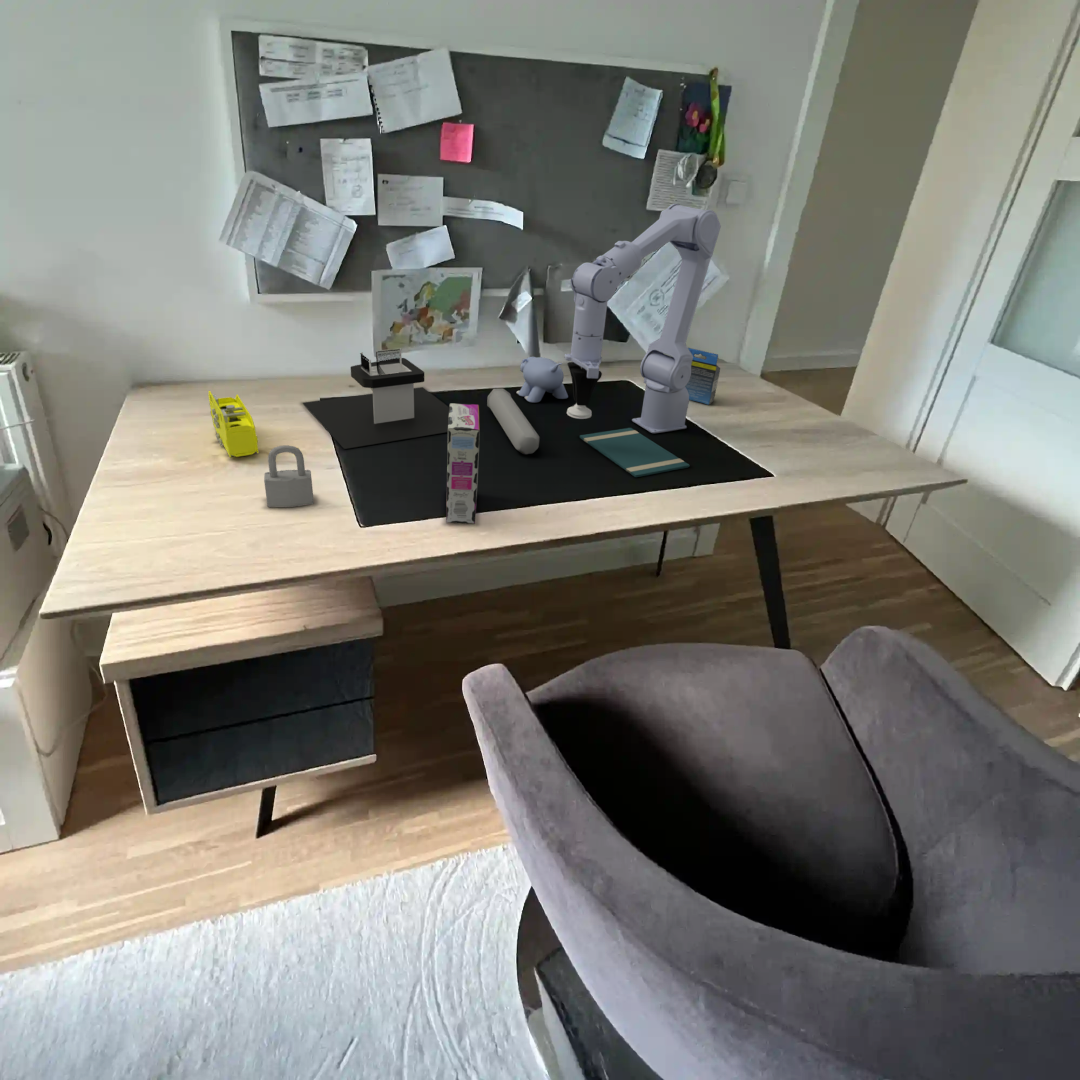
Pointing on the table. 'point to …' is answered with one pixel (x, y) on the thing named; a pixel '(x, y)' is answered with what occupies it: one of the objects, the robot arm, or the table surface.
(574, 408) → the chess piece
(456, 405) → the candy bar box
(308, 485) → the padlock
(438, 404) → the black-topped pedestal
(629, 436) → the towel
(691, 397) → the blue retail box
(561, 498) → the table surface
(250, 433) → the yellow toy chassis
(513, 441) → the tube
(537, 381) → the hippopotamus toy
